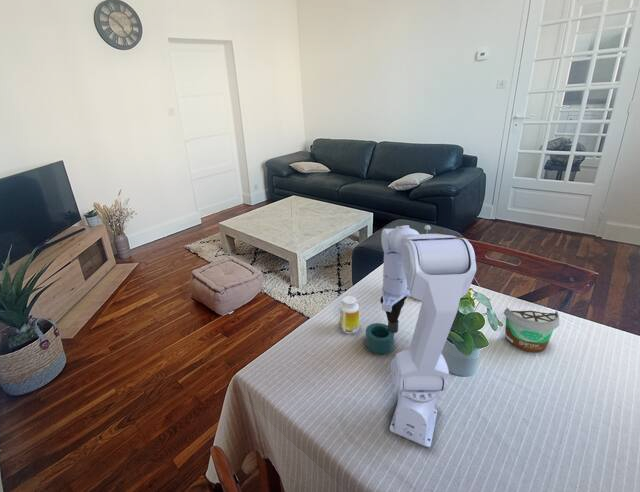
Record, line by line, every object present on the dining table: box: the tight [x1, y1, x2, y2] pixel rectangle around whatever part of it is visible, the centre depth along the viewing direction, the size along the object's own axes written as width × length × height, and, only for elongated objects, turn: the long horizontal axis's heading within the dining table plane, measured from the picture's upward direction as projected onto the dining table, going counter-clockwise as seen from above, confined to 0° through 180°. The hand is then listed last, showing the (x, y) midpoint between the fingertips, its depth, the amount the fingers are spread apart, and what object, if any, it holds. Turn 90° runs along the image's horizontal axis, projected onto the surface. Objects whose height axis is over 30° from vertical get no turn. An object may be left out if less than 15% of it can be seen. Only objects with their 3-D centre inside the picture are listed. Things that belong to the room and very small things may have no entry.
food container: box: [503, 307, 561, 354], centre depth 87 cm, size 12×6×10 cm, turn 76°
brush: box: [387, 319, 400, 334], centre depth 88 cm, size 3×3×8 cm
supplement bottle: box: [339, 295, 360, 334], centre depth 100 cm, size 6×6×10 cm
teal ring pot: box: [365, 322, 395, 355], centre depth 93 cm, size 7×7×4 cm
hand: (393, 319), depth 88 cm, fingers closed on brush
